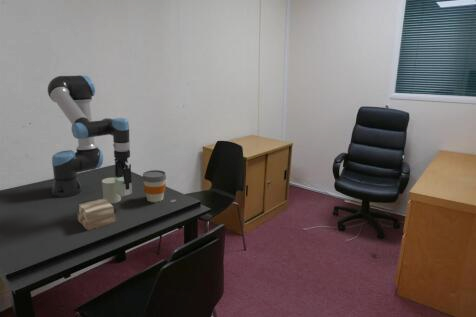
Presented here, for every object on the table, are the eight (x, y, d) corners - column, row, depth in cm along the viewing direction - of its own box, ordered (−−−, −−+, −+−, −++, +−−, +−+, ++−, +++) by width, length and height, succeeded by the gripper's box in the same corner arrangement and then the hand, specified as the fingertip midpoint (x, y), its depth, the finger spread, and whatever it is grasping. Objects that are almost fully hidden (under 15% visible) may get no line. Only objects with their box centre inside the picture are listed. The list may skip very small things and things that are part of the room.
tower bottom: (78, 221, 166) (77, 212, 165) (105, 213, 175) (104, 205, 174) (88, 231, 157) (87, 222, 156) (115, 223, 166) (115, 214, 164)
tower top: (79, 212, 165) (78, 203, 164) (104, 206, 173) (104, 198, 171) (87, 222, 156) (86, 212, 155) (114, 215, 164) (113, 206, 163)
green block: (115, 192, 179) (115, 178, 177) (126, 190, 183) (126, 175, 181) (121, 196, 175) (120, 181, 173) (132, 193, 179) (131, 179, 177)
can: (115, 204, 185) (113, 183, 182) (99, 202, 187) (97, 181, 183) (124, 197, 194) (122, 177, 190) (109, 195, 195) (107, 175, 192)
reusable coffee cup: (150, 193, 201) (149, 168, 197) (170, 196, 198) (169, 171, 194) (139, 201, 189) (137, 175, 185) (159, 205, 186) (159, 178, 182)
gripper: (106, 146, 176) (109, 188, 183) (123, 155, 163) (125, 200, 170) (120, 144, 181) (122, 185, 188) (138, 153, 168) (139, 197, 175)
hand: (124, 192), depth 179 cm, fingers closed on green block, 6 cm apart
